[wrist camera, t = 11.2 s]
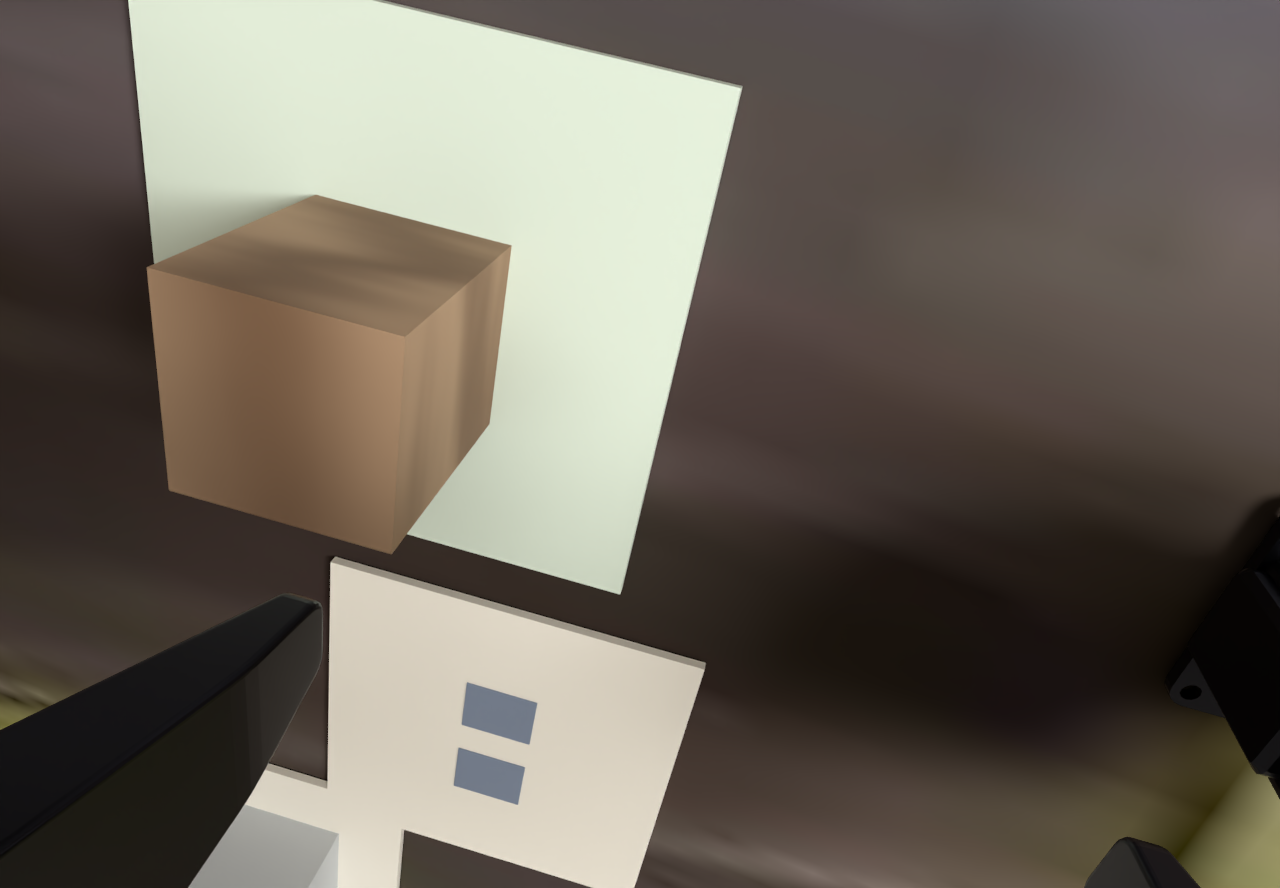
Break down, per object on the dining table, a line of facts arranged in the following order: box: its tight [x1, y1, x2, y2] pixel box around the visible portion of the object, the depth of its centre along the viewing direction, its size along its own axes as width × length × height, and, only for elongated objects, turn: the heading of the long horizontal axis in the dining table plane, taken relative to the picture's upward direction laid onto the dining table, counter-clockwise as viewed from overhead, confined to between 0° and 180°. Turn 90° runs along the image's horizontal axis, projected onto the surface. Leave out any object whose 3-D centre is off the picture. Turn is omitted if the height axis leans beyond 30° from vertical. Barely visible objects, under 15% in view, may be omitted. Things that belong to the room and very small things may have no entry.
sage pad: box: [128, 0, 743, 594], centre depth 22 cm, size 14×14×1 cm
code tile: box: [327, 557, 706, 888], centre depth 29 cm, size 12×12×1 cm
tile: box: [245, 763, 404, 888], centre depth 35 cm, size 10×10×1 cm
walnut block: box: [147, 195, 512, 554], centre depth 19 cm, size 5×5×6 cm
